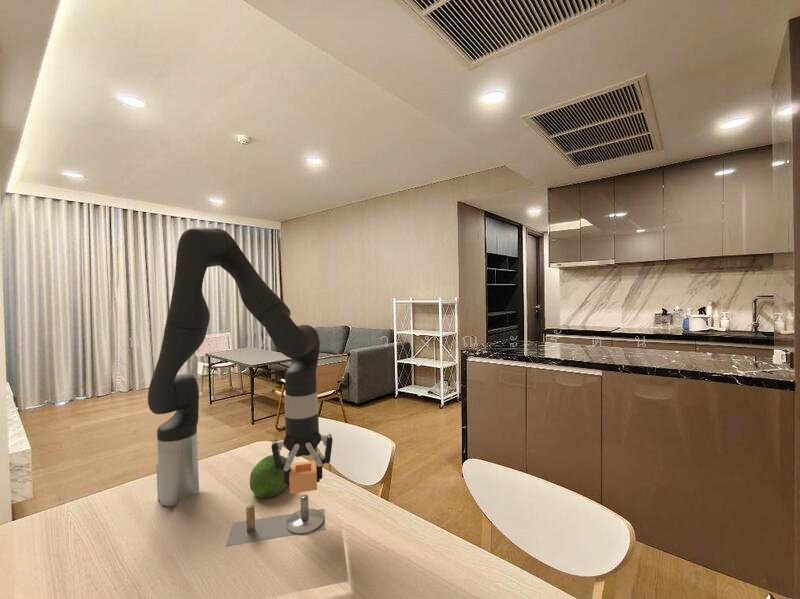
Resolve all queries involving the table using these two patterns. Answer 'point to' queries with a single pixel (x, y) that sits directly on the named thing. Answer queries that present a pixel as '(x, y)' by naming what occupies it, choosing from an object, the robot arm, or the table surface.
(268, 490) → the fruit
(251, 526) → the stand rod
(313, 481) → the collar
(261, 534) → the board
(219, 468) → the table surface
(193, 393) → the robot arm
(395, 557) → the table surface
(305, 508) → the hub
